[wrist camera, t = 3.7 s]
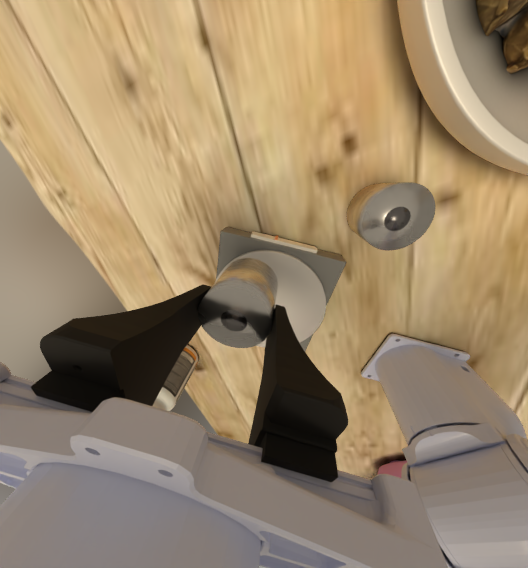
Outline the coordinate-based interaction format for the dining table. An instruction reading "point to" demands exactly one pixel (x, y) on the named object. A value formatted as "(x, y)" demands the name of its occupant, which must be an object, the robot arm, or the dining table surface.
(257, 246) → the kitchen scale
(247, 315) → the cylinder
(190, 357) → the pill bottle
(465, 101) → the bowl
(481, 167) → the dining table surface
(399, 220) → the far steel spacer
